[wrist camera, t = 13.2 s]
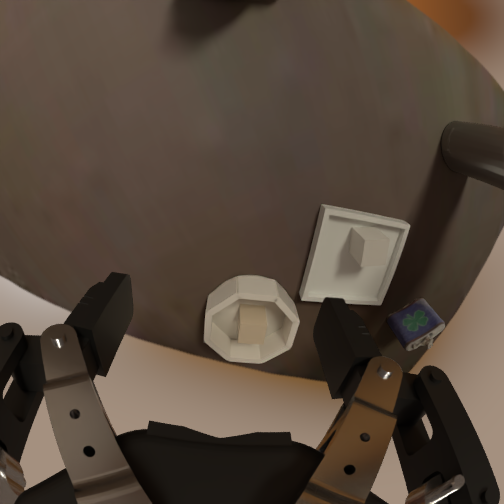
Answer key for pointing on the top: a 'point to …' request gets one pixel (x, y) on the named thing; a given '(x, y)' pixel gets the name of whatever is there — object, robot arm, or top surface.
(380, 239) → the pebble grey
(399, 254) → the tray
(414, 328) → the flask
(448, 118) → the top surface
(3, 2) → the top surface
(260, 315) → the cream wooden brick
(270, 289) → the bowl
